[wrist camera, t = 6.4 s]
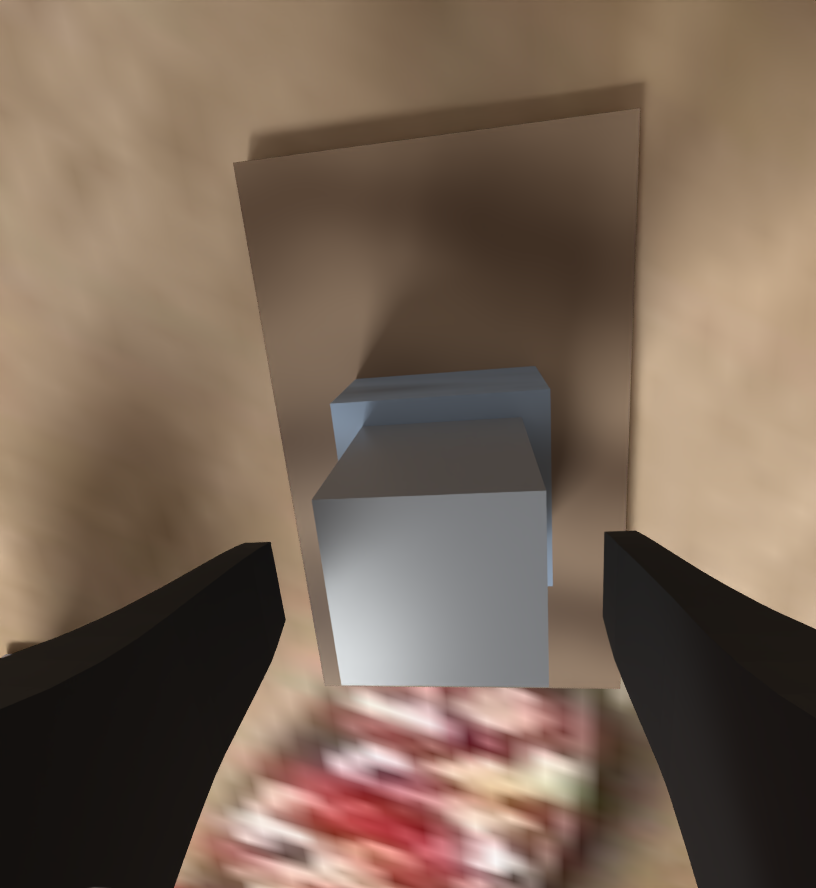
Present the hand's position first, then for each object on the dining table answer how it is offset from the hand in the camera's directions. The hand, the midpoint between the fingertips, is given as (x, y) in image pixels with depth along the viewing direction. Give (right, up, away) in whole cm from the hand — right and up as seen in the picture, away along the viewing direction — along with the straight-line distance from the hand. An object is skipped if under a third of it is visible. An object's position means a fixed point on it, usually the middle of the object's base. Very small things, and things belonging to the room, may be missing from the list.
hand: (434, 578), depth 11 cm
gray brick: (+1, +1, +4) cm, 4 cm away
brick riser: (+1, +3, +8) cm, 9 cm away
